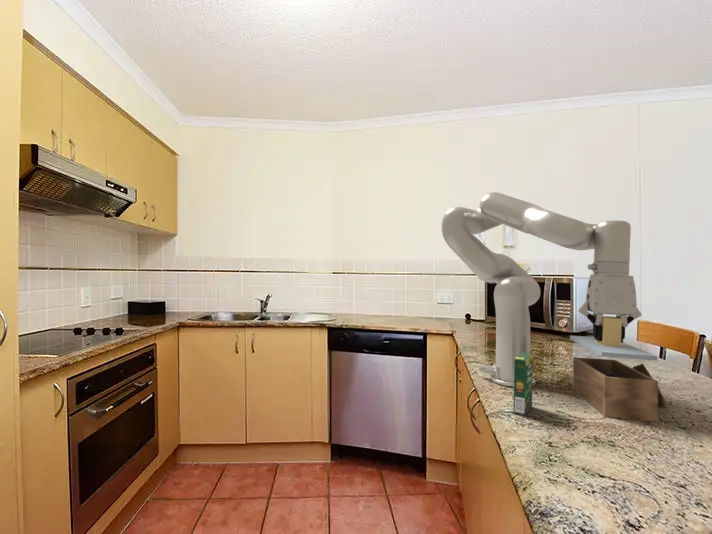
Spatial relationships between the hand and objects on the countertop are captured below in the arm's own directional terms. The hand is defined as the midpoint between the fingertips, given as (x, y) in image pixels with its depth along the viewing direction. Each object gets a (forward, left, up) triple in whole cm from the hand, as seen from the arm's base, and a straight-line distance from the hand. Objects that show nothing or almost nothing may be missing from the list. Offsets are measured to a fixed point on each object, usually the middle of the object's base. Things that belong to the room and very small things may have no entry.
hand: (608, 340), depth 95 cm
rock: (+11, +6, -16) cm, 21 cm away
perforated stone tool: (0, -1, -16) cm, 16 cm away
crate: (0, 0, -16) cm, 16 cm away
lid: (0, 0, -2) cm, 2 cm away
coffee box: (-23, -11, -16) cm, 30 cm away
